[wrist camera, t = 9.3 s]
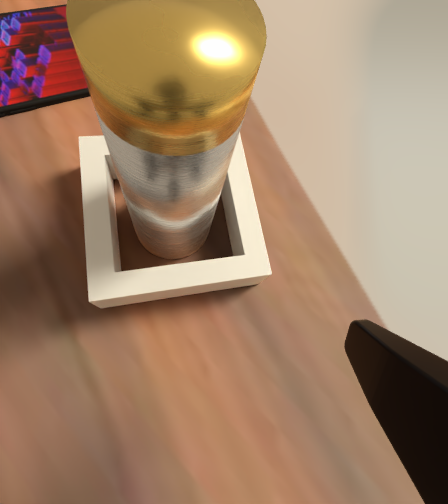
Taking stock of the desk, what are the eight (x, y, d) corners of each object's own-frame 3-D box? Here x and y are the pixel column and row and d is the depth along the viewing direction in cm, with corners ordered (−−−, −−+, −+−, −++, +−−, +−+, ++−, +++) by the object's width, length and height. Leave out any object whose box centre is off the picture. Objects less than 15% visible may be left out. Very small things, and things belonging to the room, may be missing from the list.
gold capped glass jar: (201, 266, 18) (251, 121, 6) (125, 249, 17) (33, 62, 6) (215, 200, 19) (277, -16, 8) (145, 183, 19) (102, -71, 7)
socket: (258, 283, 18) (272, 274, 16) (100, 308, 16) (88, 301, 14) (231, 154, 20) (238, 129, 18) (90, 163, 18) (78, 136, 16)
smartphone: (166, 74, 21) (-90, 130, 17) (166, 84, 22) (-78, 141, 18) (125, -6, 22) (-119, 27, 18) (126, 7, 23) (-107, 41, 19)
